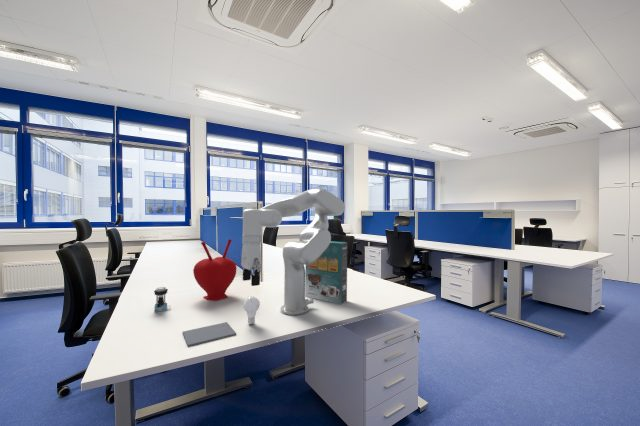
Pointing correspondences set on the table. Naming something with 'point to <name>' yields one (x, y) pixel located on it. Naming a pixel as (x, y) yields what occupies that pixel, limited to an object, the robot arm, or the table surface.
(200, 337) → the desk mat
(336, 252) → the cake mix box
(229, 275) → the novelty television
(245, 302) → the lightbulb
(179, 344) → the table surface
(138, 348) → the table surface
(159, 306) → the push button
